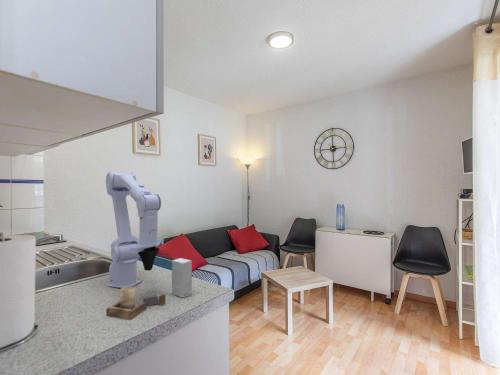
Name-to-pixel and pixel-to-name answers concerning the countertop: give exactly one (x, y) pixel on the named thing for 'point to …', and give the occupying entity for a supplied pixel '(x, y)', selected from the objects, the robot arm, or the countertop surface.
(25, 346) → the countertop surface
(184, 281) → the skincare box
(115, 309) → the bay
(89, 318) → the countertop surface
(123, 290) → the peg
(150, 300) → the flap right
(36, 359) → the countertop surface
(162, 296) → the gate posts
